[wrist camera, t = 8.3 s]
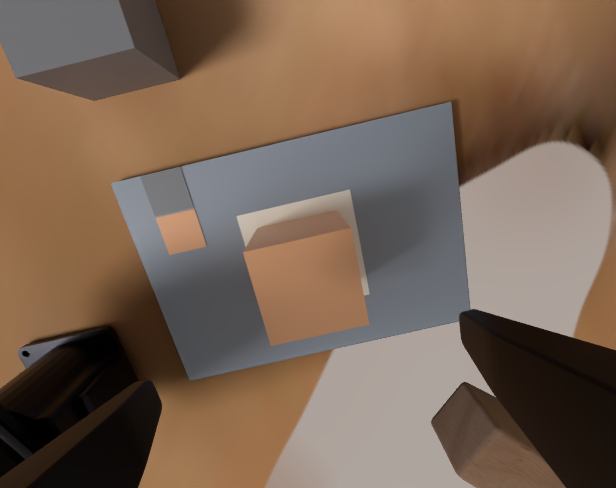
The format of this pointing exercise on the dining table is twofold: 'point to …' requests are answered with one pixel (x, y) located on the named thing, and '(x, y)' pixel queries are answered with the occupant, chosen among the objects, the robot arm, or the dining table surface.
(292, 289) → the terracotta cube
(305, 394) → the dining table surface
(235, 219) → the board
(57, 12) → the charcoal cube
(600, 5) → the dining table surface
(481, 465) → the wooden block
